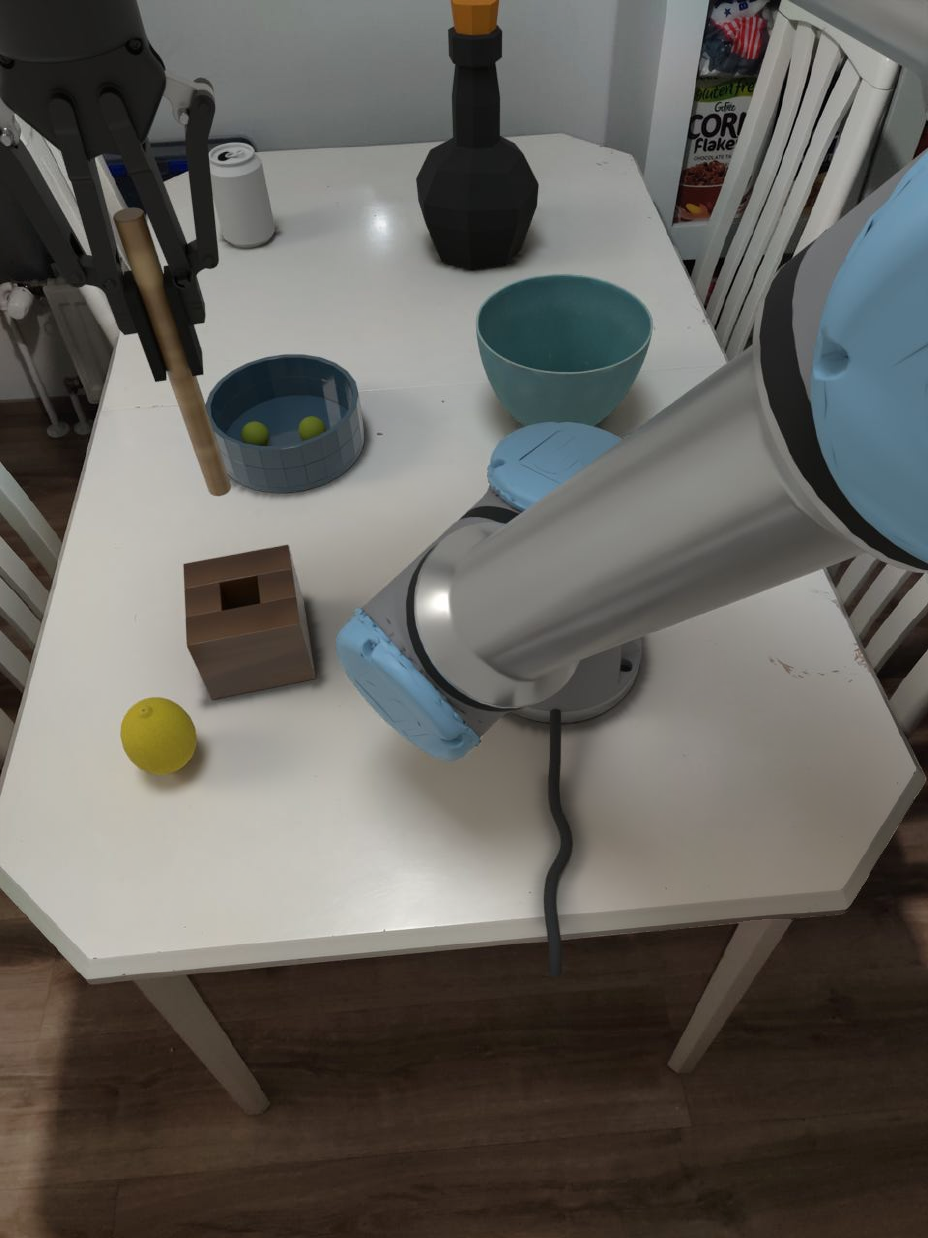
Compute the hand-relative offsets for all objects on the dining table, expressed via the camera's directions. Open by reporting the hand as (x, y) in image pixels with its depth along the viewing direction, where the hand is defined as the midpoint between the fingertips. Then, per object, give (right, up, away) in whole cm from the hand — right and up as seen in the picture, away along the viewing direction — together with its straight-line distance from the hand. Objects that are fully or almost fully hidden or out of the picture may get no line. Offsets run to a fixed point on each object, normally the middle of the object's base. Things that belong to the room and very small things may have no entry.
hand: (179, 366), depth 59 cm
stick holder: (+1, -20, +20) cm, 28 cm away
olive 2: (+3, +3, +35) cm, 36 cm away
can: (-11, +38, +66) cm, 77 cm away
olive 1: (-3, +3, +35) cm, 35 cm away
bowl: (0, +2, +38) cm, 38 cm away
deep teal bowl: (+30, +6, +40) cm, 50 cm away
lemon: (-5, -29, +13) cm, 32 cm away
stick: (0, -7, +9) cm, 11 cm away
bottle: (+21, +35, +63) cm, 75 cm away
